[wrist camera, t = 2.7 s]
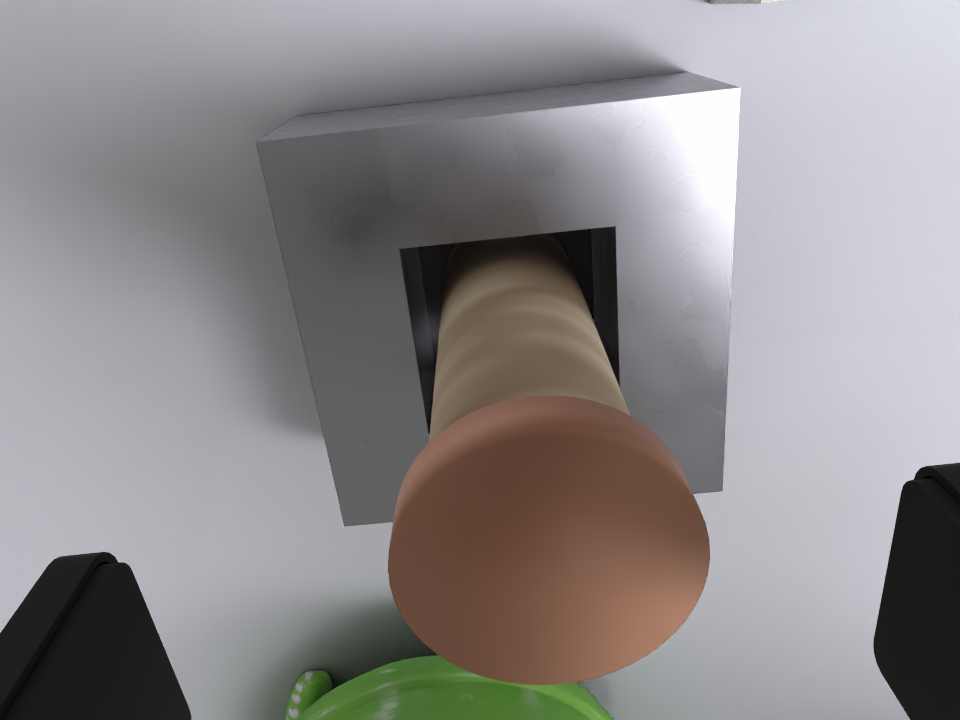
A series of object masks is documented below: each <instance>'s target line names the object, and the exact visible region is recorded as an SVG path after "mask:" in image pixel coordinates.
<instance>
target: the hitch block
mask: <svg viewBox="0 0 960 720" xmlns="http://www.w3.org/2000/svg"><path fill="white" fill-rule="evenodd" d="M739 109H740V87H736V86H733V85H730V84H726V83H723V82H720V81H717V80H713V79H710V78H707V77H703V76H700V75H697V74H694V73H690V72H682V73H673V74H664V75H655V76H647V77H638V78H629V79H620V80H611V81H602V82H593V83H584V84H576V85H567V86H558V87H549V88H540V89H531V90H522V91H513V92H504V93H496V94H487V95H478V96H469V97H460V98H451V99H442V100H433V101H425V102H416V103H407V104H398V105H389V106H380V107H371V108H362V109H354V110H345V111H336V112H327V113H318V114H309V115H300V116H296V117H294V118H293V119H291V120H290V121H288V122H286V123H285V124H283V125H282V126H280V127H279V128H277V129H275V130H274V131H272V132H271V133H269V134H268V135H266V136H264V137H263V138H261V139H260V140H258V141H257V142H256V144H257V148H258V152H259V157H260V161H261V165H262V170H263V174H264V178H265V183H266V187H267V191H268V196H269V200H270V205H271V209H272V213H273V218H274V222H275V226H276V231H277V235H278V239H279V244H280V248H281V252H282V257H283V261H284V265H285V270H286V274H287V278H288V283H289V287H290V291H291V296H292V300H293V304H294V309H295V313H296V317H297V322H298V326H299V331H300V335H301V339H302V344H303V348H304V352H305V357H306V361H307V365H308V370H309V374H310V378H311V383H312V387H313V391H314V396H315V400H316V404H317V409H318V413H319V417H320V422H321V426H322V430H323V435H324V439H325V444H326V448H327V452H328V457H329V461H330V465H331V470H332V474H333V478H334V483H335V487H336V491H337V496H338V500H339V504H340V509H341V513H342V517H343V522H344V526H353V525H364V524H375V523H385V522H393V521H394V515H395V508H396V503H397V498H398V494H399V490H400V488H401V485H402V483H403V480H404V477H405V475H406V473H407V472H408V470H409V468H410V467H411V465H412V463H413V461H414V460H415V459H416V457H417V456H418V455H419V454H420V452H421V451H422V450H423V449H424V447H425V446H426V445H427V444H428V443H429V437H430V426H431V415H432V404H433V394H434V383H435V372H436V364H435V360H434V353H433V346H432V339H431V333H430V326H429V319H428V312H427V305H426V298H425V292H424V285H423V278H422V271H421V264H420V257H419V251H418V247H422V246H432V245H441V244H450V243H460V242H469V241H479V240H488V239H498V238H507V237H517V236H526V235H535V234H545V233H554V232H564V231H573V230H583V229H591V244H592V268H593V293H594V317H595V327H596V329H597V332H598V334H599V337H600V339H601V342H602V344H603V347H604V350H605V352H606V355H607V357H608V360H609V362H610V365H611V367H612V370H613V372H614V375H615V378H616V380H617V383H618V385H619V388H620V390H621V393H622V395H623V398H624V401H625V403H626V406H627V408H628V411H629V413H630V416H632V417H633V418H635V419H636V420H638V421H640V422H641V423H643V424H644V425H646V426H647V427H648V428H649V429H650V430H651V431H653V432H654V433H655V434H656V435H657V436H658V437H659V438H660V439H661V440H662V441H663V442H664V443H665V445H666V446H667V447H668V448H669V449H670V450H671V452H672V454H673V455H674V457H675V458H676V460H677V462H678V463H679V465H680V467H681V469H682V472H683V474H684V476H685V478H686V480H687V483H688V485H689V487H690V489H691V491H692V493H693V494H697V493H707V492H718V491H722V487H723V465H724V443H725V420H726V398H727V376H728V354H729V331H730V309H731V287H732V265H733V242H734V220H735V198H736V176H737V153H738V131H739Z"/></svg>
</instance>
